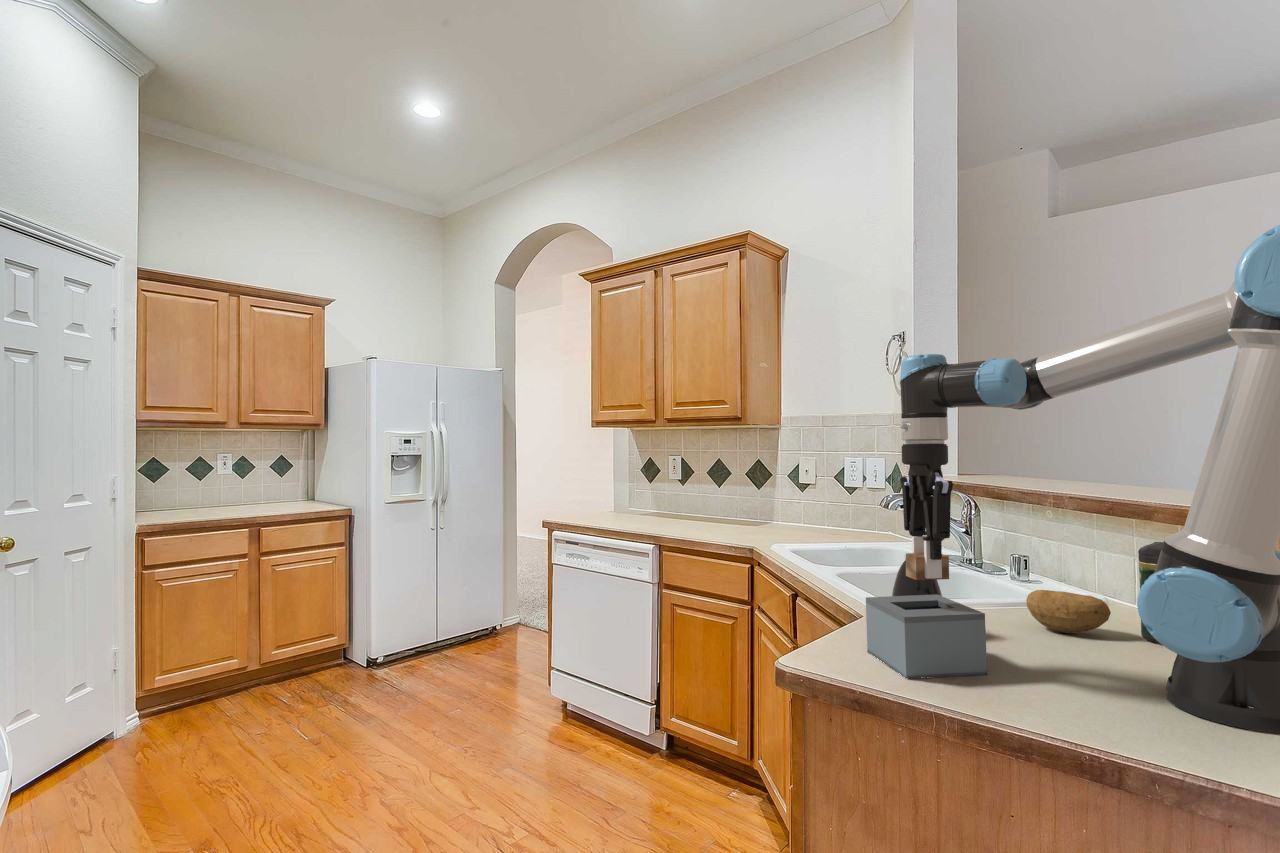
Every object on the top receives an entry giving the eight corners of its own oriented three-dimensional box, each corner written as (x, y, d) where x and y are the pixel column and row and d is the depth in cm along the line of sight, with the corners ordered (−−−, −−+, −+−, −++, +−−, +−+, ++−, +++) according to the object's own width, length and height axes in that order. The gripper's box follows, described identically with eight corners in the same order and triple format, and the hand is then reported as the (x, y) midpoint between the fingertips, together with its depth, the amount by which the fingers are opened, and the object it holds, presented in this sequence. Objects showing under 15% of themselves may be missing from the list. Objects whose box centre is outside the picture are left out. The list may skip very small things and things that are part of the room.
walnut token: (949, 579, 110) (948, 556, 110) (916, 580, 109) (916, 556, 109) (937, 574, 113) (937, 552, 113) (905, 575, 113) (905, 553, 113)
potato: (1113, 643, 119) (1111, 600, 119) (1026, 632, 127) (1024, 592, 127) (1110, 630, 127) (1108, 591, 127) (1028, 621, 135) (1026, 583, 135)
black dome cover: (934, 624, 134) (932, 552, 134) (954, 639, 123) (951, 561, 124) (885, 624, 135) (882, 552, 135) (900, 638, 124) (897, 561, 125)
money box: (987, 674, 104) (984, 613, 104) (906, 679, 103) (904, 617, 103) (939, 648, 118) (937, 594, 118) (867, 651, 117) (865, 597, 117)
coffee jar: (1193, 650, 114) (1188, 547, 115) (1138, 641, 120) (1133, 543, 120) (1198, 639, 121) (1193, 541, 122) (1146, 631, 126) (1141, 538, 127)
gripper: (882, 442, 120) (884, 566, 119) (929, 442, 103) (931, 586, 103) (920, 442, 120) (922, 565, 120) (972, 442, 104) (975, 585, 103)
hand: (926, 575), depth 111 cm, fingers closed on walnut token, 3 cm apart
